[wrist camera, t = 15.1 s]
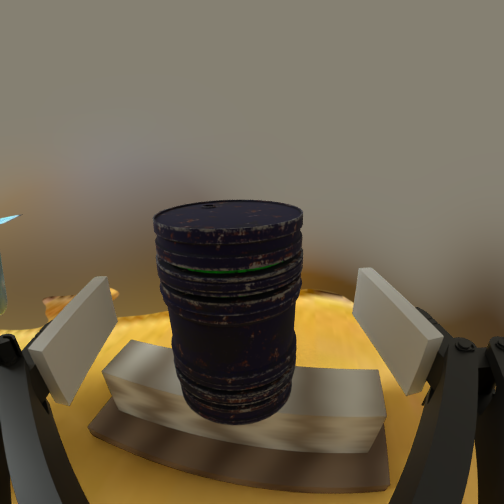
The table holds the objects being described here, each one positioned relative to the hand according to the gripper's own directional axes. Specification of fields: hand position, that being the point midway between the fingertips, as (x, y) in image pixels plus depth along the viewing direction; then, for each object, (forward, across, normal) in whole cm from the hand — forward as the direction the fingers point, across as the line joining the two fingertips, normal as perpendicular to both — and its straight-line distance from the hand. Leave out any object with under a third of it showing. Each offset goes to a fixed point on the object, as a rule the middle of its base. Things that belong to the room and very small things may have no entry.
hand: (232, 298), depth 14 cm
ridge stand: (+6, 0, -19) cm, 20 cm away
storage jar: (+6, 0, -12) cm, 13 cm away
